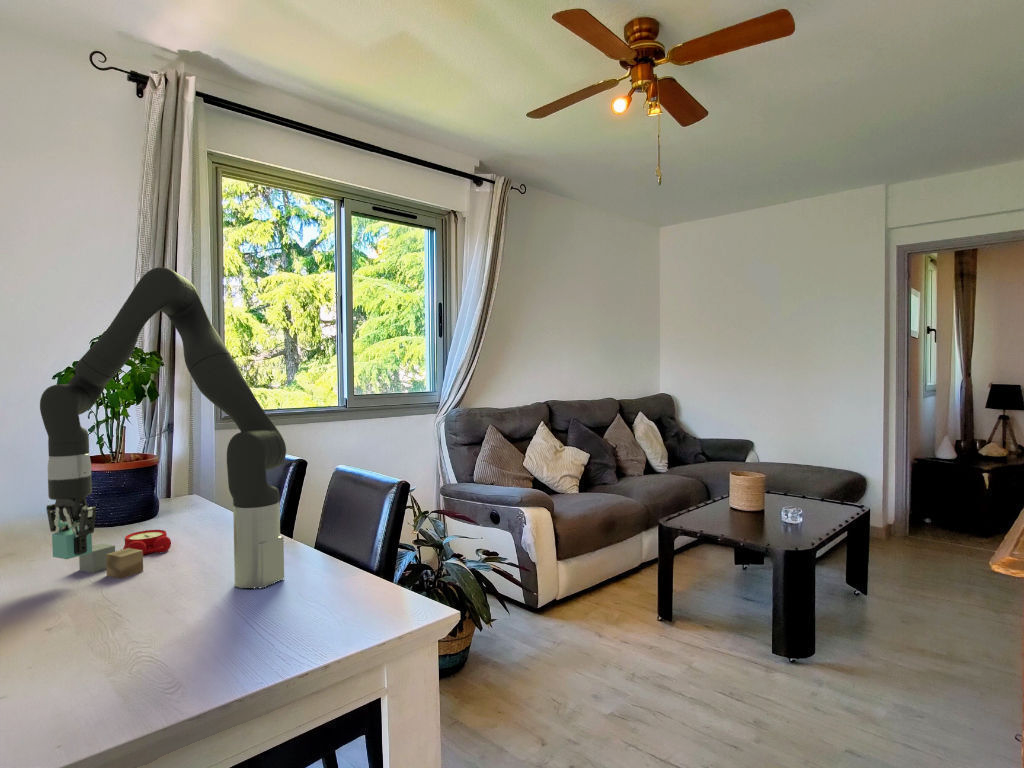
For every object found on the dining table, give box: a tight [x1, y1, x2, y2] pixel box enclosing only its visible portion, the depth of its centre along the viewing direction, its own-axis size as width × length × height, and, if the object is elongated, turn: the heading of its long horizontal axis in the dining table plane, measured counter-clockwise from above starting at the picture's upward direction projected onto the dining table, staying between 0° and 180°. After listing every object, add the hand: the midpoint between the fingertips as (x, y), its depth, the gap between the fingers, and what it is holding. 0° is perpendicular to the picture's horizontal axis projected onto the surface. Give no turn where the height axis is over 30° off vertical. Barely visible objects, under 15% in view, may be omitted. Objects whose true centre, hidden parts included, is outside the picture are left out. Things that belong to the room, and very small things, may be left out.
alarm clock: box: [122, 529, 172, 556], centre depth 147 cm, size 10×6×15 cm
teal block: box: [51, 527, 93, 560], centre depth 124 cm, size 5×5×5 cm
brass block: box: [106, 548, 144, 580], centre depth 130 cm, size 5×5×5 cm
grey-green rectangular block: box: [78, 542, 116, 574], centre depth 134 cm, size 5×5×5 cm
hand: (72, 552), depth 124 cm, fingers closed on teal block, 5 cm apart
